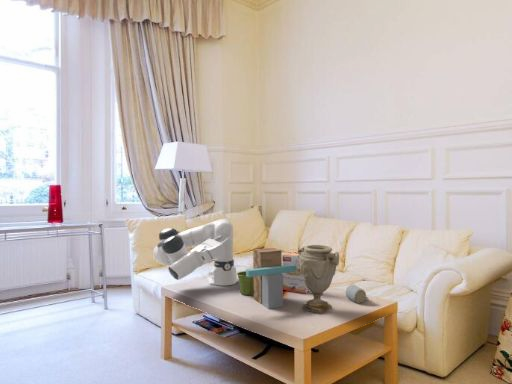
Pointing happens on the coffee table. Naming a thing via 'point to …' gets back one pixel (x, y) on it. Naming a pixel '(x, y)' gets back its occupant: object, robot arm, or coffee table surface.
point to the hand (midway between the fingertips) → (225, 238)
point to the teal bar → (270, 270)
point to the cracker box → (293, 274)
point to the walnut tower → (264, 266)
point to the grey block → (272, 291)
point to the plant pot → (246, 283)
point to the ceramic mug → (356, 294)
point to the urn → (317, 274)
